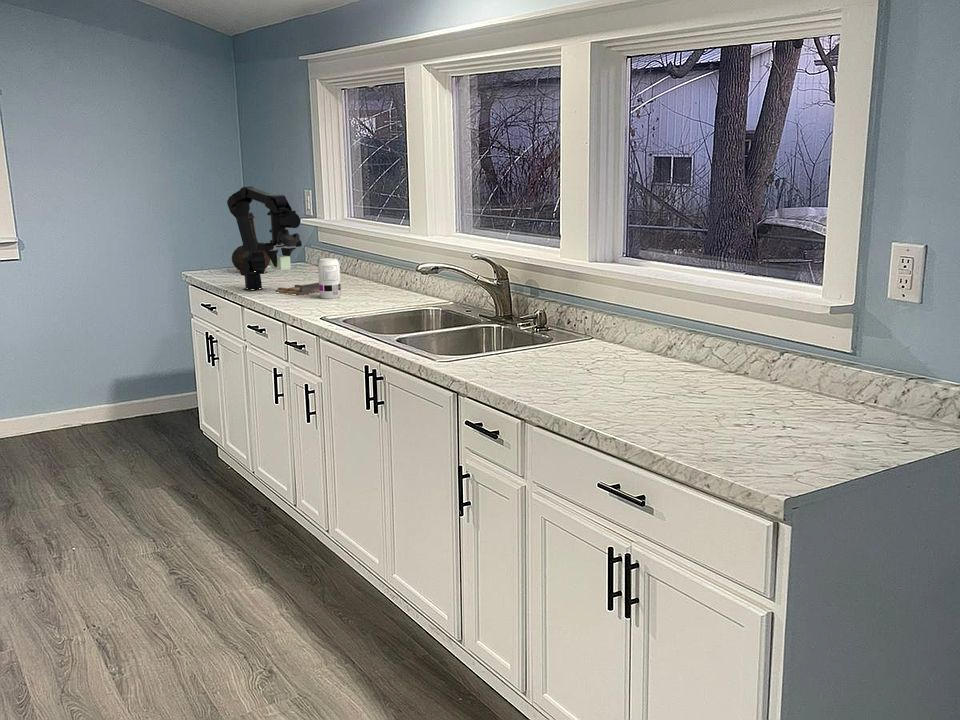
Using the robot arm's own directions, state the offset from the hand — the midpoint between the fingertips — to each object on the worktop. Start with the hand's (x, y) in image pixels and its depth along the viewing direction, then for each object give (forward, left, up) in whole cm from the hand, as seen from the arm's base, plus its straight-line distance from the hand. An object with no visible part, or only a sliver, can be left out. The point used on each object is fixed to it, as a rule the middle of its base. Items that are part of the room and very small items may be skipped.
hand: (280, 266), depth 380 cm
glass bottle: (-64, +40, -11) cm, 76 cm away
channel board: (+4, +5, -11) cm, 13 cm away
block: (0, 0, -1) cm, 1 cm away
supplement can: (+25, +1, -11) cm, 28 cm away
